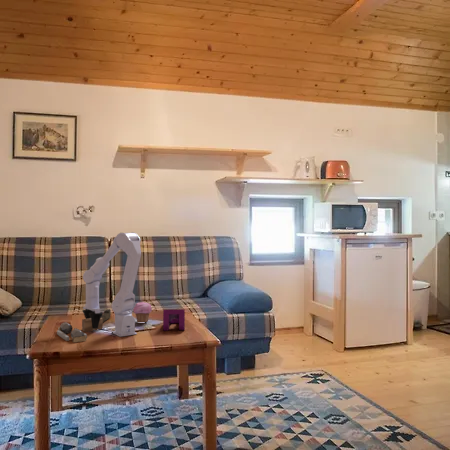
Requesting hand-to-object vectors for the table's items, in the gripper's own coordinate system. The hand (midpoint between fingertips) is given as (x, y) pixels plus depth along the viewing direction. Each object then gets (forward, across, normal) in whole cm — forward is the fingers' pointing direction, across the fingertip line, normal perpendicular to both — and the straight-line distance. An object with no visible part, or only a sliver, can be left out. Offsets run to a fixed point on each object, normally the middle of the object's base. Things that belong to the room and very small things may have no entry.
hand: (92, 326), depth 205 cm
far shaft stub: (+1, -2, -11) cm, 11 cm away
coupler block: (+2, 0, 0) cm, 2 cm away
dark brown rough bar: (+2, -16, +11) cm, 20 cm away
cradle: (+1, +6, -11) cm, 13 cm away
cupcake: (+2, -1, +25) cm, 25 cm away
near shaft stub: (+1, +14, -11) cm, 18 cm away
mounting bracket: (+2, +16, +33) cm, 37 cm away
